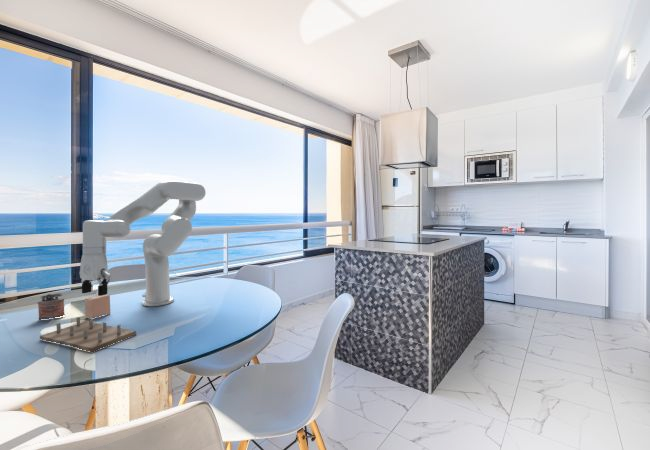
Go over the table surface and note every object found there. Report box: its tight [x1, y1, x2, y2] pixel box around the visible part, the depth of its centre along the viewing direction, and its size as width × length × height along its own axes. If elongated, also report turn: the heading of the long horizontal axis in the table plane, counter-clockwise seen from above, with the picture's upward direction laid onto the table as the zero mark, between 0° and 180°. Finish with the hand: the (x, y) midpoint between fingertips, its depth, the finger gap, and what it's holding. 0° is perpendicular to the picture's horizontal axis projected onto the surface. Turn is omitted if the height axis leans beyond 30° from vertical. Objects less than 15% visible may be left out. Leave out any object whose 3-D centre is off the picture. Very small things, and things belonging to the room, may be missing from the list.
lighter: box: [37, 292, 66, 320], centre depth 121 cm, size 8×3×10 cm, turn 117°
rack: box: [39, 316, 137, 353], centre depth 102 cm, size 26×14×4 cm, turn 69°
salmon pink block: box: [84, 294, 111, 318], centre depth 123 cm, size 4×7×8 cm, turn 159°
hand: (94, 293), depth 122 cm, fingers open, 9 cm apart
